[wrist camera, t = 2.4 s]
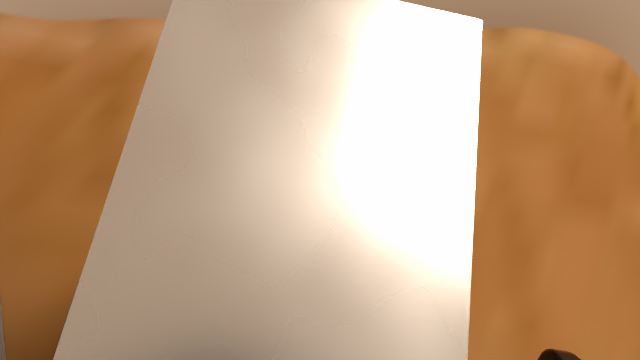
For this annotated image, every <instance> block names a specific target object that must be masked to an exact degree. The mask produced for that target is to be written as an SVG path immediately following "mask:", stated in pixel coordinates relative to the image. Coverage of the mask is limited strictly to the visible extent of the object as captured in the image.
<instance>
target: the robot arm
mask: <svg viewBox="0 0 640 360" xmlns="http://www.w3.org/2000/svg"><path fill="white" fill-rule="evenodd" d="M538 360H581V359H580V358H578V357H577V356H576V355H574V354H573V353H570V352H567V351H561V350H555V349H546V350H545V351H543V352H542V353H541V355H540V357H539V358H538Z"/></svg>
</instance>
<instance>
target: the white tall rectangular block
mask: <svg viewBox="0 0 640 360" xmlns="http://www.w3.org/2000/svg"><path fill="white" fill-rule="evenodd" d="M481 38H482V20H480V19H476V18H471V17H467V16H463V15H459V14H454V13H450V12H446V11H441V10H437V9H432V8H428V7H423V6H419V5H415V4H410V3H406V2H402V1H398V0H173V2H172V4H171V8H170V10H169V13H168V16H167V19H166V22H165V25H164V28H163V31H162V34H161V37H160V40H159V43H158V46H157V49H156V52H155V55H154V58H153V61H152V64H151V67H150V70H149V73H148V76H147V79H146V82H145V85H144V88H143V91H142V94H141V97H140V100H139V103H138V106H137V109H136V112H135V115H134V118H133V121H132V124H131V127H130V130H129V133H128V136H127V139H126V142H125V145H124V148H123V151H122V154H121V157H120V160H119V163H118V166H117V169H116V172H115V175H114V178H113V181H112V184H111V187H110V190H109V193H108V196H107V199H106V202H105V205H104V208H103V211H102V214H101V217H100V220H99V223H98V226H97V229H96V232H95V235H94V238H93V241H92V244H91V247H90V250H89V253H88V256H87V259H86V262H85V265H84V268H83V271H82V274H81V277H80V280H79V283H78V286H77V289H76V292H75V295H74V298H73V301H72V304H71V307H70V310H69V313H68V316H67V319H66V322H65V325H64V328H63V331H62V334H61V337H60V340H59V343H58V346H57V349H56V352H55V355H54V358H53V360H467V355H468V333H469V310H470V287H471V265H472V242H473V219H474V197H475V174H476V152H477V129H478V106H479V84H480V61H481Z"/></svg>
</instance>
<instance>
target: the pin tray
mask: <svg viewBox="0 0 640 360" xmlns="http://www.w3.org/2000/svg"><path fill="white" fill-rule="evenodd" d="M0 360H6V351H5V341H4V331H3V321H2V311H1V301H0Z"/></svg>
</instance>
